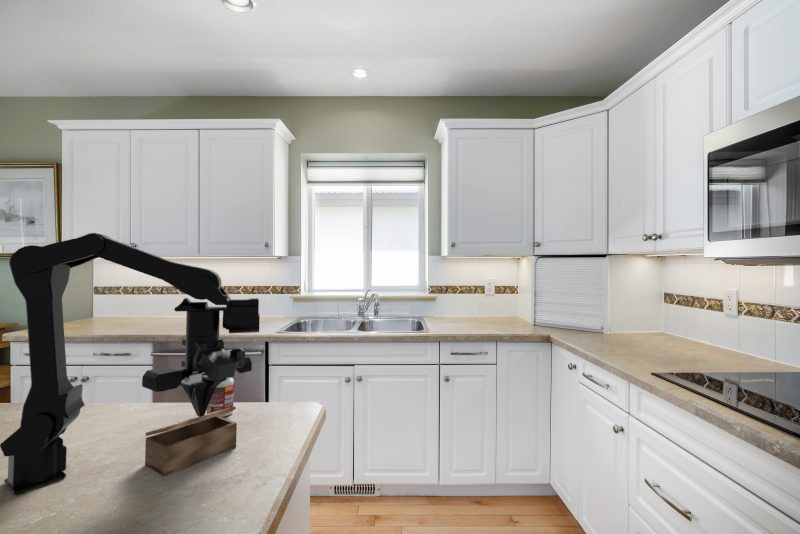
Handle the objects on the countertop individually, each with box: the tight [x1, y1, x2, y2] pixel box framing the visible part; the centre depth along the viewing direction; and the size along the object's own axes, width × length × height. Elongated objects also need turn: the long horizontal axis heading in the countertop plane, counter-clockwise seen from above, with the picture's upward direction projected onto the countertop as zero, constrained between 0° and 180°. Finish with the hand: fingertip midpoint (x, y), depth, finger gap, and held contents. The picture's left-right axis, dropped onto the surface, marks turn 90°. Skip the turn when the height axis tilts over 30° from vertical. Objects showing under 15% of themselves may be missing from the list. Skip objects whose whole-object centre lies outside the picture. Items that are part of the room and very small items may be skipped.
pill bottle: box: [206, 377, 235, 418], centre depth 99 cm, size 6×6×11 cm
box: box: [144, 416, 238, 477], centre depth 76 cm, size 14×7×5 cm, turn 147°
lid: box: [145, 406, 237, 437], centre depth 76 cm, size 14×7×1 cm, turn 147°
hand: (200, 416), depth 75 cm, fingers closed, pressing on lid
